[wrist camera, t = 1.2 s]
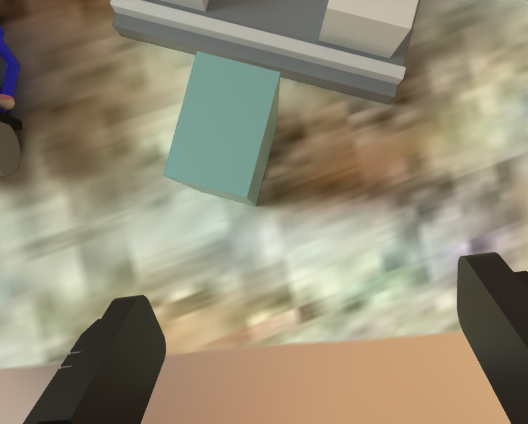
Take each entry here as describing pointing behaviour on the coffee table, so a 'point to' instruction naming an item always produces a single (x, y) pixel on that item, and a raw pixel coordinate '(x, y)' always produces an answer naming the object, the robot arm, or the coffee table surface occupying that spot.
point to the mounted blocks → (357, 23)
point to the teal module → (225, 128)
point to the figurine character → (9, 114)
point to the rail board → (266, 41)
